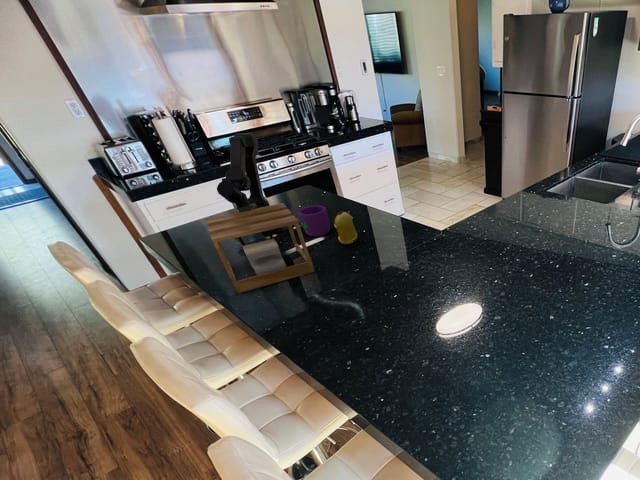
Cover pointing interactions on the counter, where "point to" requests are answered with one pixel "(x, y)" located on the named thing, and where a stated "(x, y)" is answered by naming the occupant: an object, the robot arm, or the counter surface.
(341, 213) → the yellow rounded lump
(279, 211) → the shoe rack
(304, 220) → the mug
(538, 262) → the counter surface
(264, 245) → the grey lidded shoebox
